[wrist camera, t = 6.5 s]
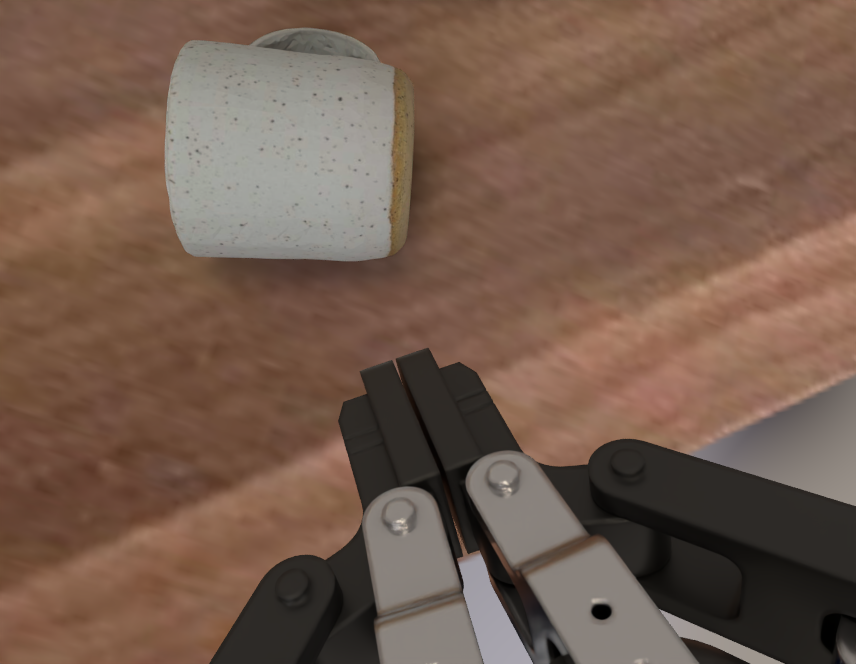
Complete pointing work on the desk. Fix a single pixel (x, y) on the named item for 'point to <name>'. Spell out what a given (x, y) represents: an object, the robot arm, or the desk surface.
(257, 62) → the ceramic mug
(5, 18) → the desk surface
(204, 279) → the desk surface
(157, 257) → the desk surface
